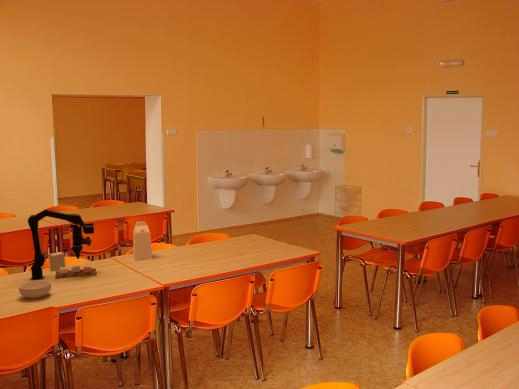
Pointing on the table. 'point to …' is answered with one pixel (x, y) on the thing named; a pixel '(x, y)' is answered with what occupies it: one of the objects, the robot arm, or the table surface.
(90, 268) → the tile three pip
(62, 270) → the tile one pip
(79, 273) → the tile tray
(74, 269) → the tile two pip
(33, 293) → the cereal bowl
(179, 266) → the table surface
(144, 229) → the milk
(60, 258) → the small box
